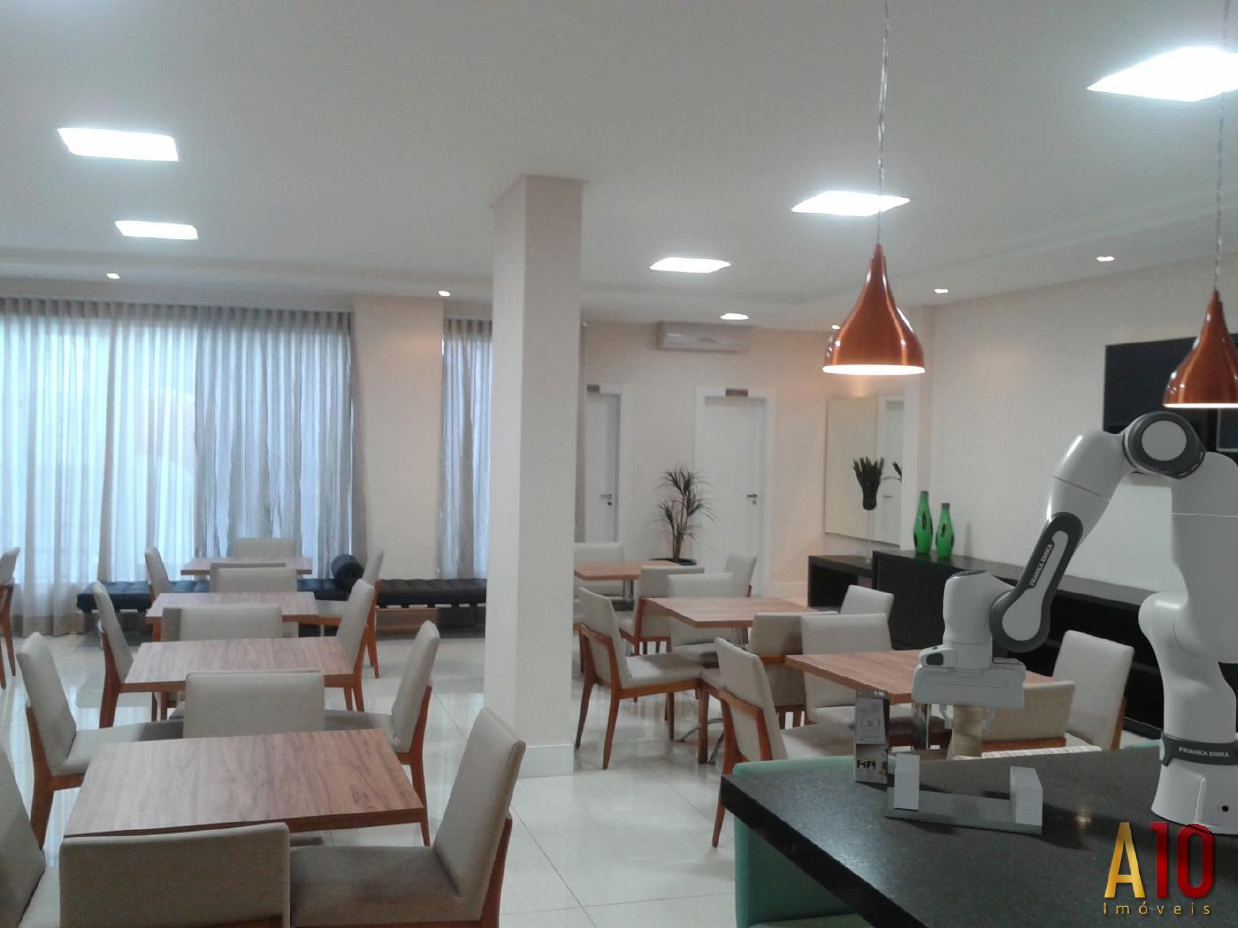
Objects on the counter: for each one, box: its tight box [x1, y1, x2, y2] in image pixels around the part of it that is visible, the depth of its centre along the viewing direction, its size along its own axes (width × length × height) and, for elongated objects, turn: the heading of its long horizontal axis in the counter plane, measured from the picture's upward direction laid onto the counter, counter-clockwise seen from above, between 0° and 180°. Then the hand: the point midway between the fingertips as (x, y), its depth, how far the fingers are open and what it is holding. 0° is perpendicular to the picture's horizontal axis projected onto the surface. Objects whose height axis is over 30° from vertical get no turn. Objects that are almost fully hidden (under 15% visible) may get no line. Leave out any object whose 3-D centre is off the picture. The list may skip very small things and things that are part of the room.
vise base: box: [884, 765, 1044, 836], centre depth 184 cm, size 25×13×8 cm, turn 74°
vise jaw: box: [893, 752, 921, 810], centre depth 186 cm, size 4×13×6 cm, turn 164°
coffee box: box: [853, 688, 891, 785], centre depth 205 cm, size 9×6×16 cm
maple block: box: [951, 705, 983, 758], centre depth 200 cm, size 5×7×9 cm
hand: (966, 729), depth 200 cm, fingers closed on maple block, 5 cm apart
